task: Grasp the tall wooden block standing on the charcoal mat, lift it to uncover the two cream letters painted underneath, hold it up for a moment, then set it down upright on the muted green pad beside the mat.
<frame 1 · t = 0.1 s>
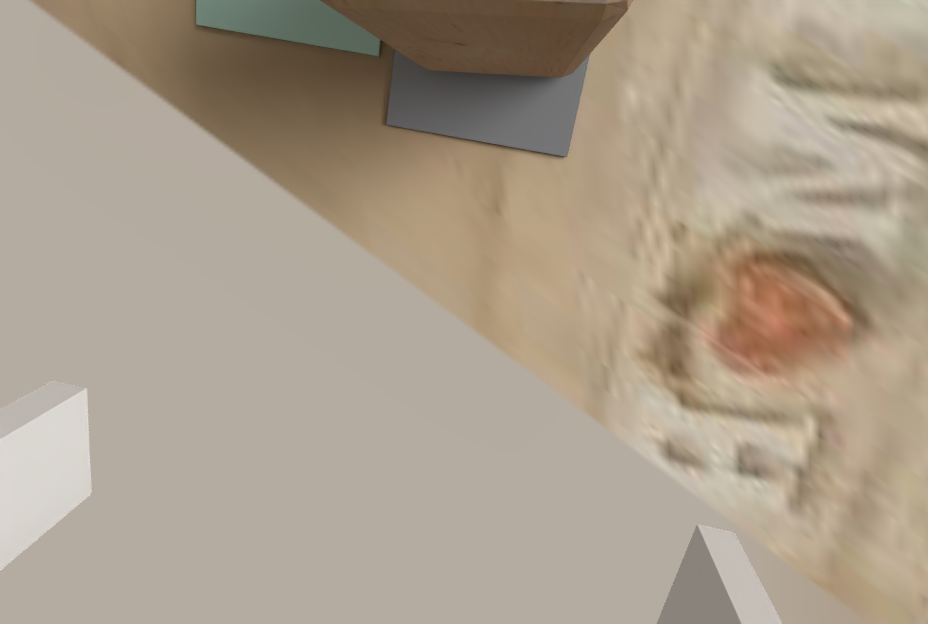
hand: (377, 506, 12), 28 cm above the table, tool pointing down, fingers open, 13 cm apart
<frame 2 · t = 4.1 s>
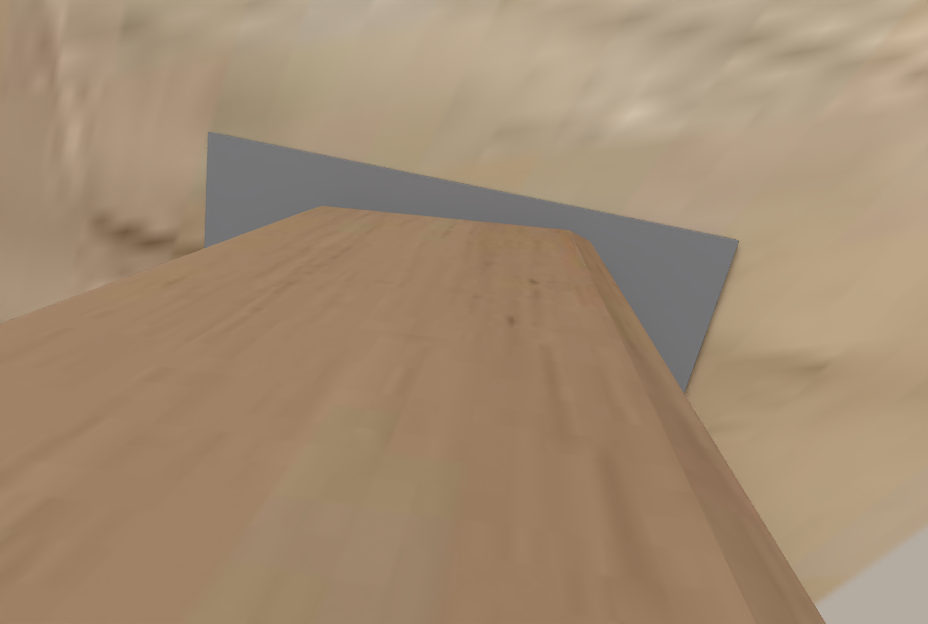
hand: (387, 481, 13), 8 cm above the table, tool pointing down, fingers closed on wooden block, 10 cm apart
code mat: (439, 346, 20), on the table
wooden block: (438, 347, 20), resting on code mat, touching gripper
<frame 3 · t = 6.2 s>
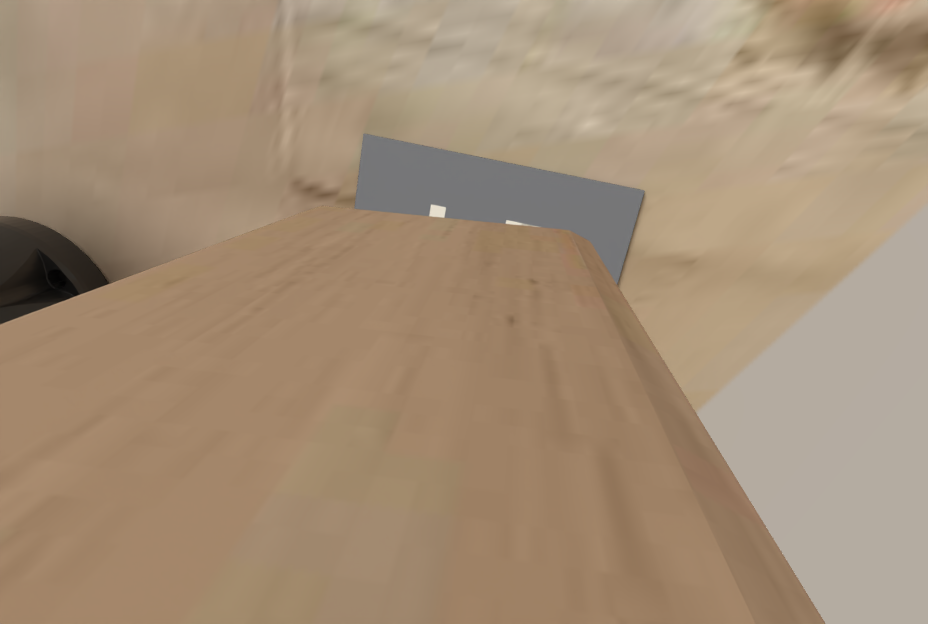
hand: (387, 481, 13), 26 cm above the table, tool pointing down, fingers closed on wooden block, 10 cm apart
code mat: (484, 252, 37), on the table
wooden block: (438, 347, 20), point 17 cm above the table, touching gripper
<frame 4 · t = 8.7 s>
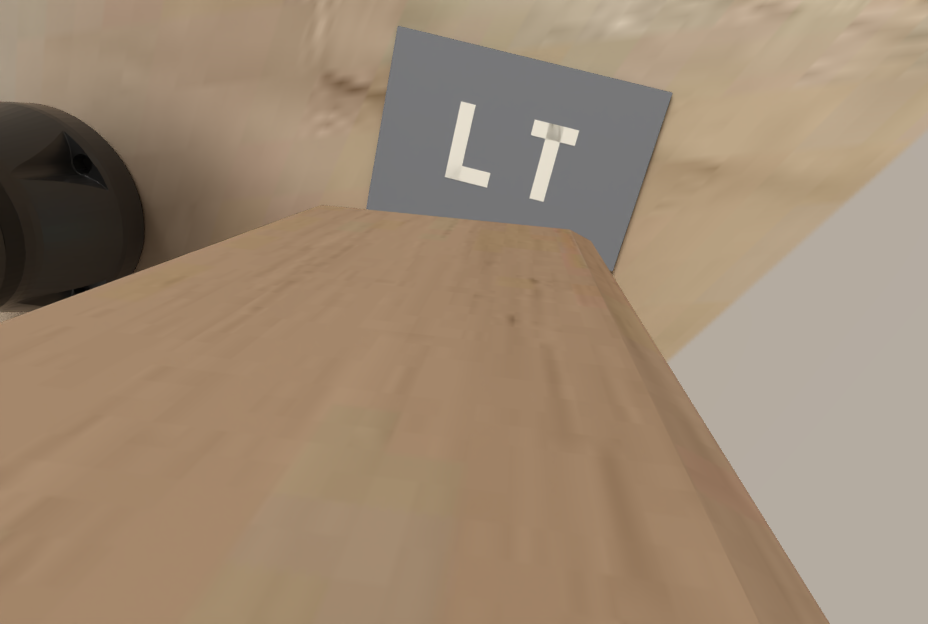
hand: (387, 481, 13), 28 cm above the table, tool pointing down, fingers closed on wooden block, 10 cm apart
code mat: (510, 154, 37), on the table
wooden block: (438, 347, 20), point 20 cm above the table, touching gripper
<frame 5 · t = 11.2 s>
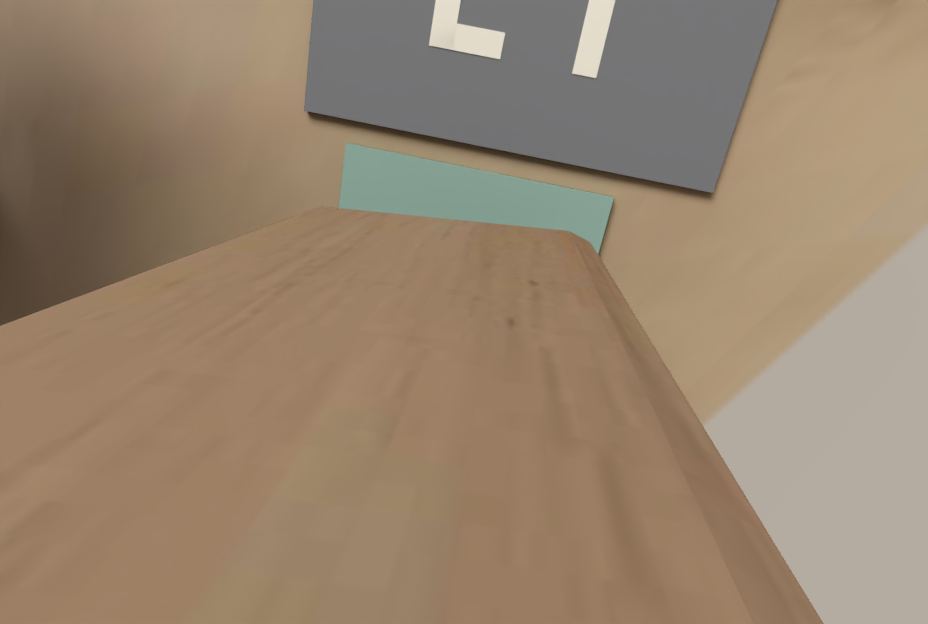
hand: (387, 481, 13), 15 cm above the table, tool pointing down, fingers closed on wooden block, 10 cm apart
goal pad: (455, 296, 26), on the table
wooden block: (438, 348, 20), point 6 cm above the table, touching gripper
when the fingers open (10 cm above the table, at t = 13.2 s): wooden block drops 1 cm, resting on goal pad.
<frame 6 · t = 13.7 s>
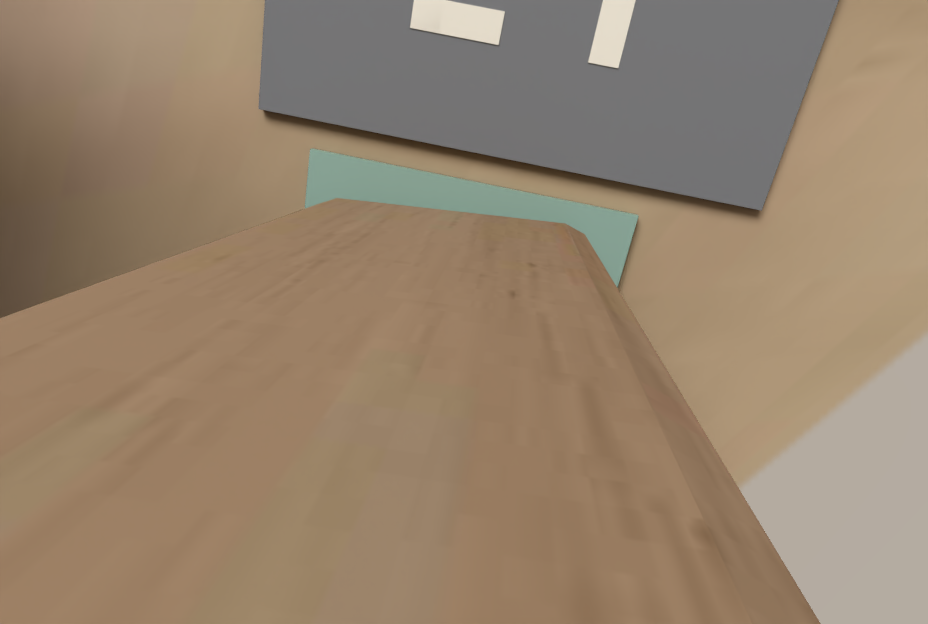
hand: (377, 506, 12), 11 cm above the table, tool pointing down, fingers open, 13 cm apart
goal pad: (444, 332, 22), on the table
wooden block: (442, 332, 22), resting on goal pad
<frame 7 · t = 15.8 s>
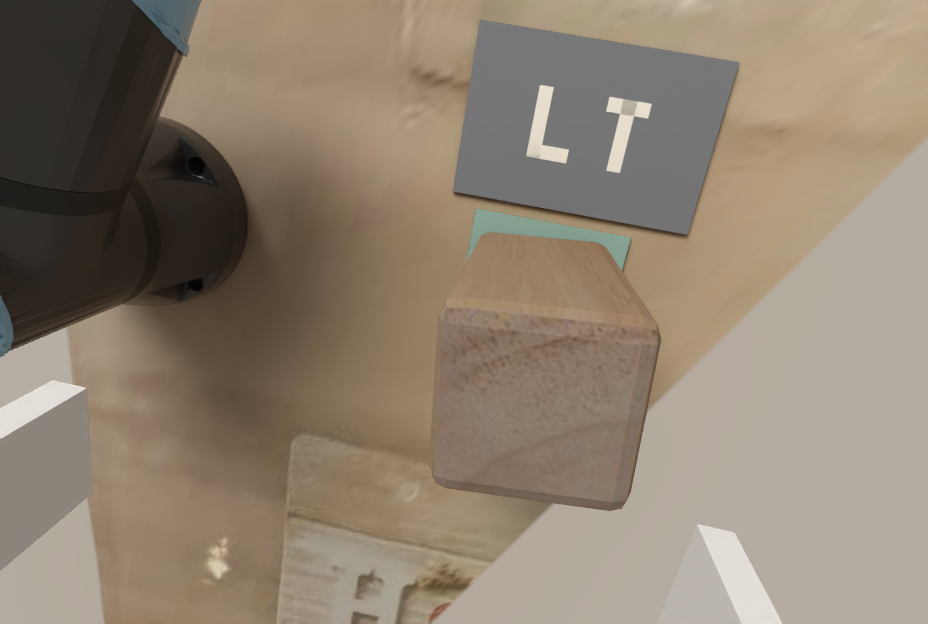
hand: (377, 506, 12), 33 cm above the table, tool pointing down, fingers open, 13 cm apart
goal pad: (536, 296, 44), on the table
code mat: (586, 130, 40), on the table
wooden block: (535, 295, 44), resting on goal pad
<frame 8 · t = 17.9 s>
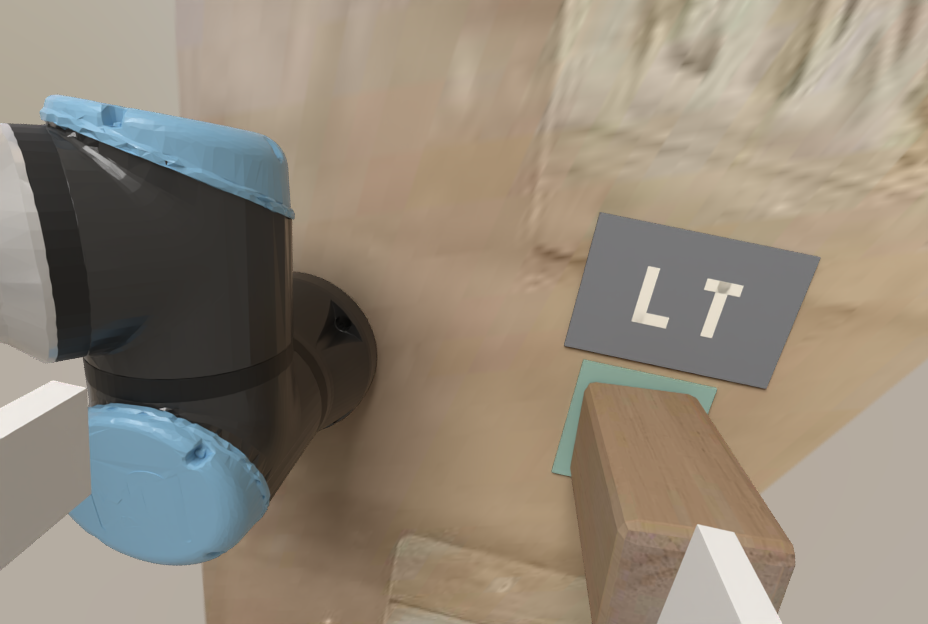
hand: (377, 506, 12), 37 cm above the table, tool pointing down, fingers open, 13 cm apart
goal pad: (630, 430, 51), on the table
code mat: (685, 302, 47), on the table
wooden block: (629, 431, 51), resting on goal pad
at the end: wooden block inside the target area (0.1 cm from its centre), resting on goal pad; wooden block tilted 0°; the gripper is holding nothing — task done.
